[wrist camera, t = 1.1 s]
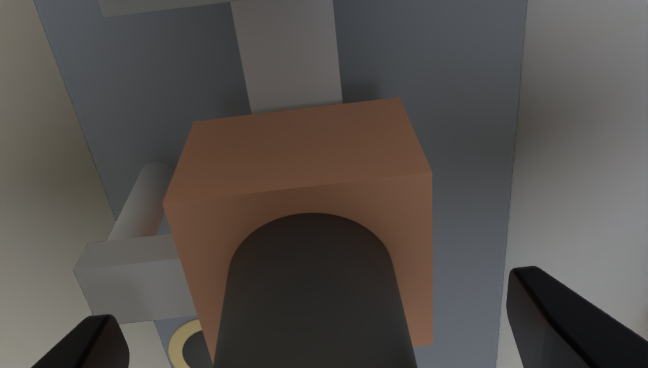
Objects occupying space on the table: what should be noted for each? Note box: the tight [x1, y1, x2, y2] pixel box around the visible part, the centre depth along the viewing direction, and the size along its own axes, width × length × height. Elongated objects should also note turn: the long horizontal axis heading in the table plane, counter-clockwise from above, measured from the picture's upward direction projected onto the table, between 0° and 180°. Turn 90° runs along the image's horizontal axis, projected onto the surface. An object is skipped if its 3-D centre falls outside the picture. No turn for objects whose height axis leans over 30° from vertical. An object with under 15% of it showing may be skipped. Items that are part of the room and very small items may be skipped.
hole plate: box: [33, 0, 527, 368], centre depth 14 cm, size 11×30×6 cm, turn 6°
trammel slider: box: [73, 97, 433, 368], centre depth 10 cm, size 6×4×9 cm, turn 96°
